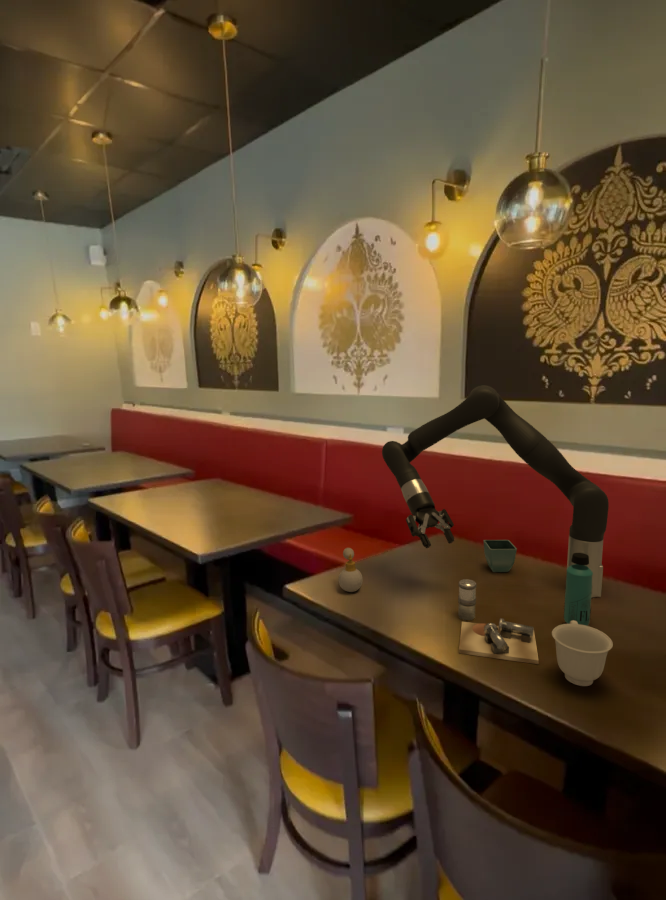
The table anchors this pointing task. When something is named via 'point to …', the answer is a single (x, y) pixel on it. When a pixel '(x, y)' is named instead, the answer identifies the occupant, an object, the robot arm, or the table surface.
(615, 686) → the table surface
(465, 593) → the disc
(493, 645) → the shaft
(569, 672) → the teacup
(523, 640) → the shaft
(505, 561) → the flower pot
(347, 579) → the perfume bottle
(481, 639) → the base board
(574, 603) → the beverage bottle
